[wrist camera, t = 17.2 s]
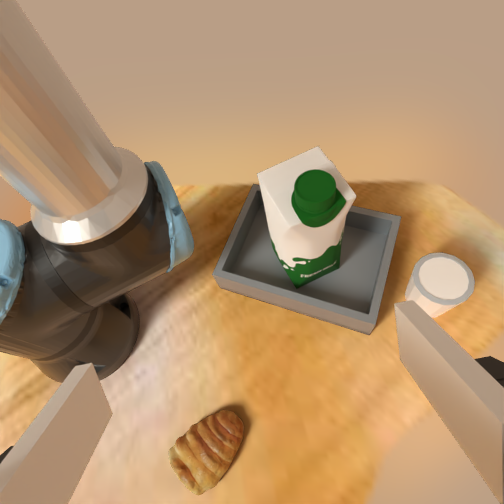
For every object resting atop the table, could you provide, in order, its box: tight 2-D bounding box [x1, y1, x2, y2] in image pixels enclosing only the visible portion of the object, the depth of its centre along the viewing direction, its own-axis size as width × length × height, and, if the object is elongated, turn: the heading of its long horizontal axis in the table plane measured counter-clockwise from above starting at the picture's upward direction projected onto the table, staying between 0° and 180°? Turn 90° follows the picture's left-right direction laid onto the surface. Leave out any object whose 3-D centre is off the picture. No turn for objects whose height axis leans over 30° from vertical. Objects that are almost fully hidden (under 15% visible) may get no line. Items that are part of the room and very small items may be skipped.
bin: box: [212, 184, 401, 335], centre depth 52 cm, size 22×16×5 cm
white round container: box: [405, 253, 475, 317], centre depth 46 cm, size 7×7×7 cm
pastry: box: [169, 410, 244, 495], centre depth 43 cm, size 9×7×4 cm
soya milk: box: [257, 146, 356, 289], centre depth 44 cm, size 9×9×20 cm
